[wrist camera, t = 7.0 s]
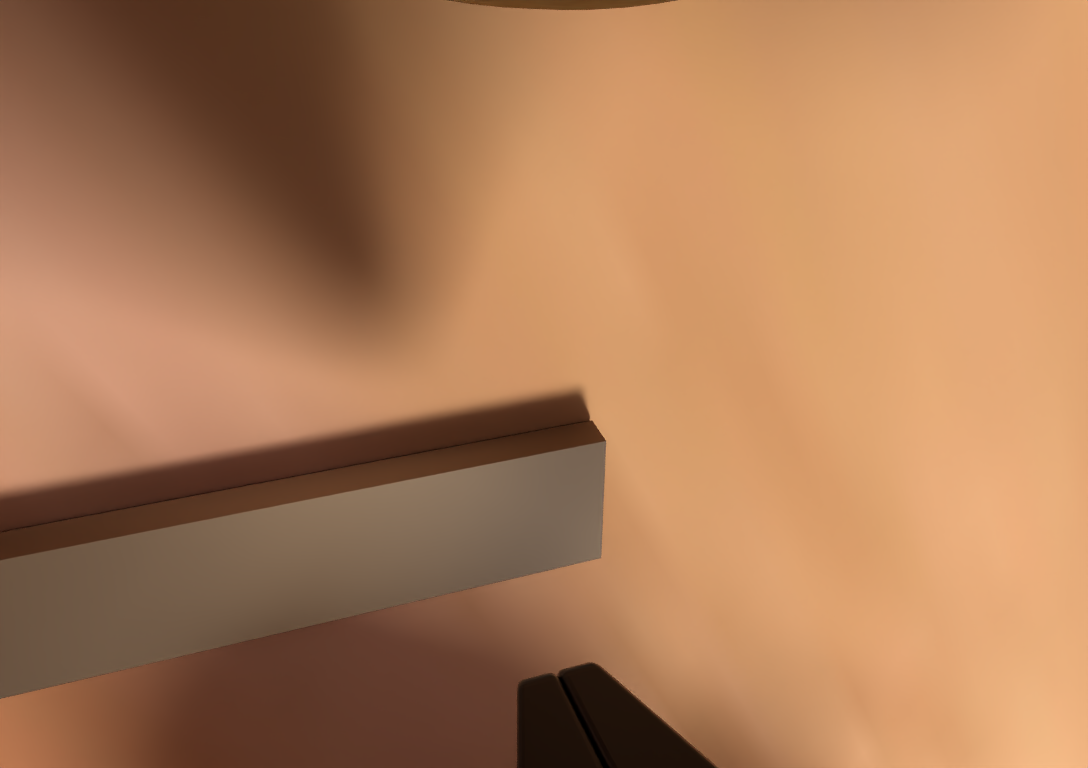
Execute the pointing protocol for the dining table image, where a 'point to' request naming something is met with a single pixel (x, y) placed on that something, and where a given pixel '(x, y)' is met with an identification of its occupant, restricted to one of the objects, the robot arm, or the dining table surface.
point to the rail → (292, 553)
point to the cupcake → (564, 3)
